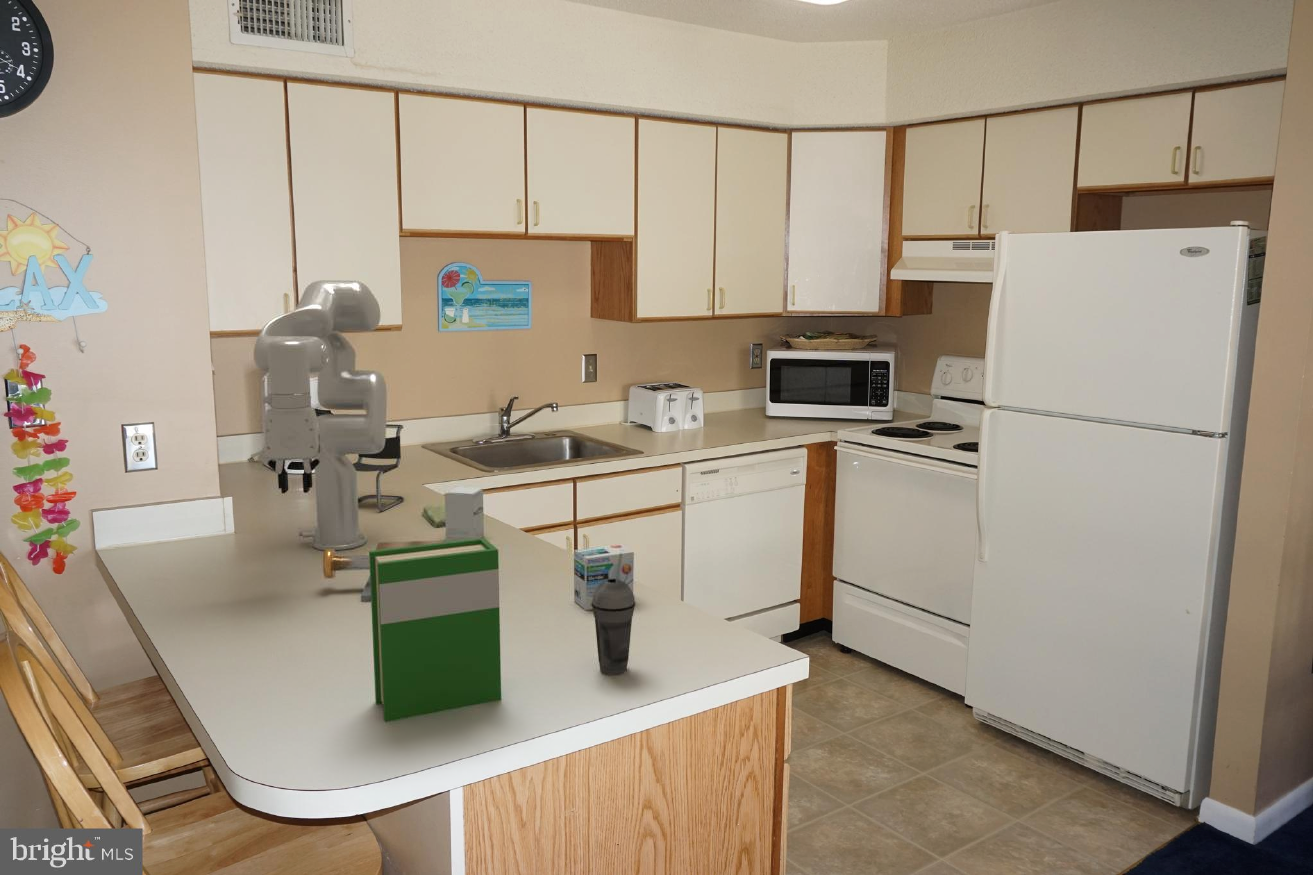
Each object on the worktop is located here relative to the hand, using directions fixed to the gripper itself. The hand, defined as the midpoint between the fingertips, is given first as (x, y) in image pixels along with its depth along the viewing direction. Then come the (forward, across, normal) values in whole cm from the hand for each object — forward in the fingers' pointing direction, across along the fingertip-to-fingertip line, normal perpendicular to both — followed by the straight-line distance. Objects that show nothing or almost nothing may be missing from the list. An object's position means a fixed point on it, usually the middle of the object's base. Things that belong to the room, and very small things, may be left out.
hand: (295, 490), depth 197 cm
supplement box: (+22, +32, +36) cm, 53 cm away
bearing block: (+21, +24, 0) cm, 32 cm away
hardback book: (+22, +31, -57) cm, 68 cm away
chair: (+22, +5, +76) cm, 79 cm away
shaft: (+19, +15, 0) cm, 24 cm away
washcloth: (+22, +27, +58) cm, 68 cm away
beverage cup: (+21, +59, -49) cm, 80 cm away
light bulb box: (+22, +61, -15) cm, 66 cm away
